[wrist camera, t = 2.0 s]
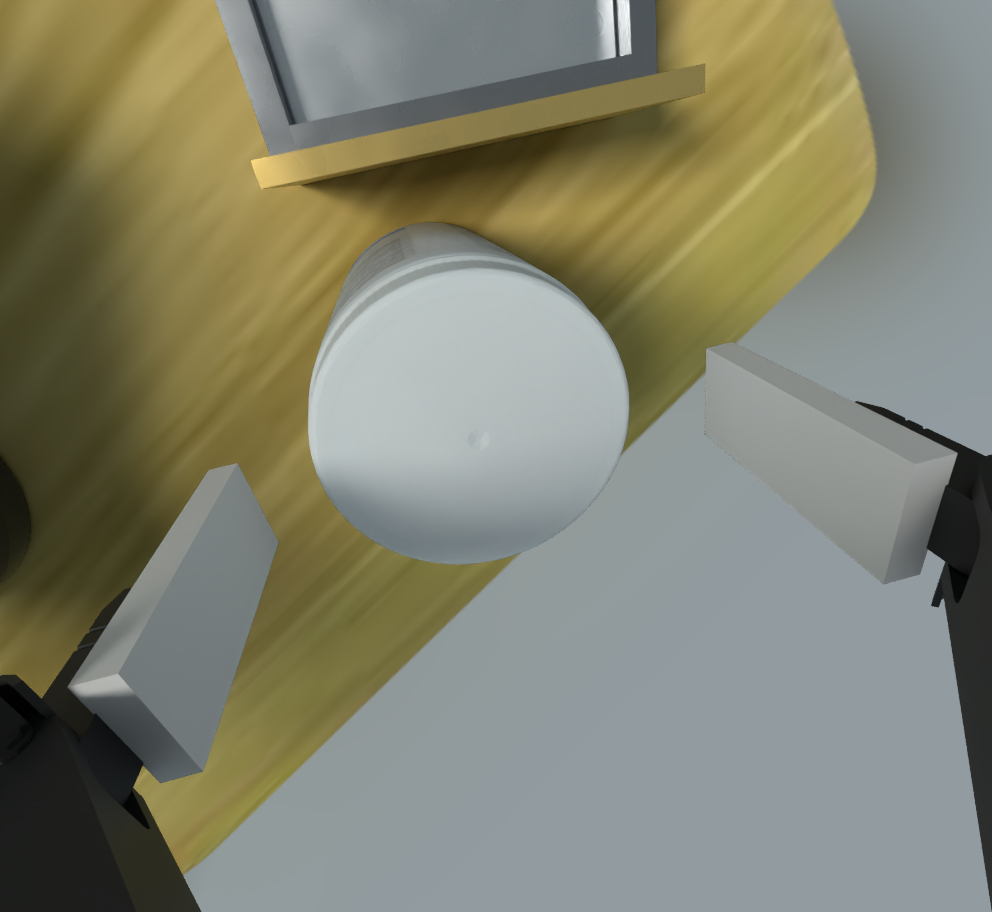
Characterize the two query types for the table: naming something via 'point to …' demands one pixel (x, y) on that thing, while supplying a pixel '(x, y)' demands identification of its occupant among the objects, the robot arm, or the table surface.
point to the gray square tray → (436, 75)
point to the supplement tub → (462, 399)
